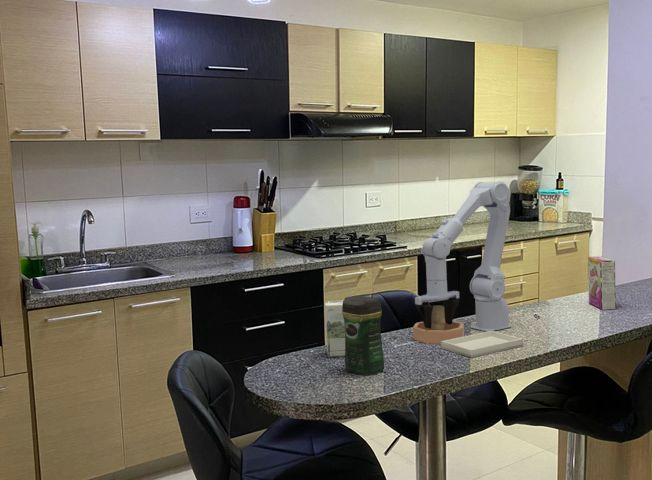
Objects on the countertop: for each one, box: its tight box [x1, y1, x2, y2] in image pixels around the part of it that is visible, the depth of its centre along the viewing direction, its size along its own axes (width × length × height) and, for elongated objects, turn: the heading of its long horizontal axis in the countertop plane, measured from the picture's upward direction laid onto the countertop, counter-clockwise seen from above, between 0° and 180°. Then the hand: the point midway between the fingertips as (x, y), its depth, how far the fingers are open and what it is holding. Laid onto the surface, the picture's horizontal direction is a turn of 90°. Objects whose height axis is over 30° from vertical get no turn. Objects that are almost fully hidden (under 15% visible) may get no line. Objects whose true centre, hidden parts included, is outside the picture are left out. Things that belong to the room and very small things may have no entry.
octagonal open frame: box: [412, 319, 465, 345], centre depth 187 cm, size 14×14×4 cm
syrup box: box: [324, 299, 345, 358], centre depth 174 cm, size 6×6×14 cm
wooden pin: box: [431, 305, 445, 331], centre depth 187 cm, size 4×4×9 cm
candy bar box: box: [587, 255, 617, 311], centre depth 215 cm, size 11×5×16 cm, turn 179°
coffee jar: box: [342, 295, 385, 376], centre depth 158 cm, size 10×8×19 cm
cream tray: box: [441, 330, 524, 359], centre depth 174 cm, size 18×12×2 cm, turn 118°
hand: (438, 325), depth 187 cm, fingers open, 7 cm apart
